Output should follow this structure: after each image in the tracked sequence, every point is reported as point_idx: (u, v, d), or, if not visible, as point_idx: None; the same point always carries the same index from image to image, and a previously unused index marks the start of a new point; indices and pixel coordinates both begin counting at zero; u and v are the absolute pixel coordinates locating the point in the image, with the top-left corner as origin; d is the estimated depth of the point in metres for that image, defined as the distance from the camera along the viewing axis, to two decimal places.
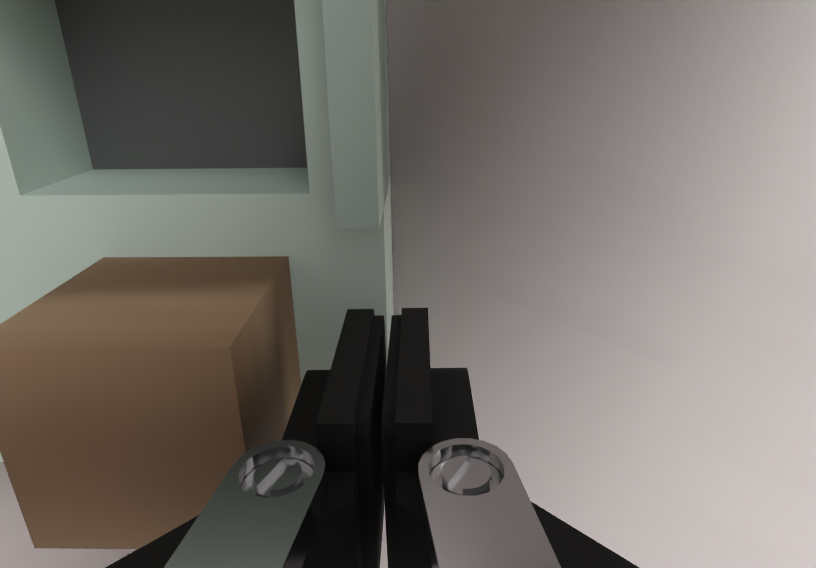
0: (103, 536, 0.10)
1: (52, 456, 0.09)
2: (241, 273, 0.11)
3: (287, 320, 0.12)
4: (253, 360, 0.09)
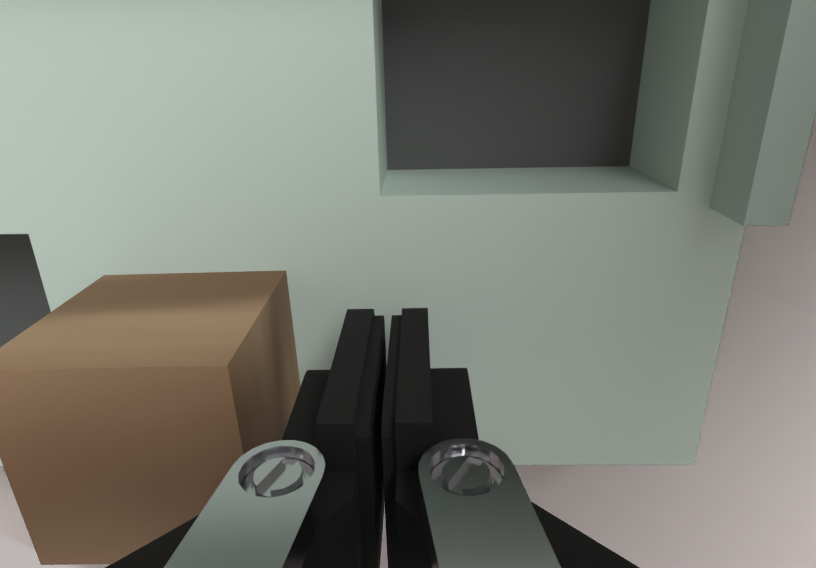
0: (107, 552, 0.10)
1: (56, 474, 0.09)
2: (239, 289, 0.11)
3: (286, 333, 0.12)
4: (252, 376, 0.10)
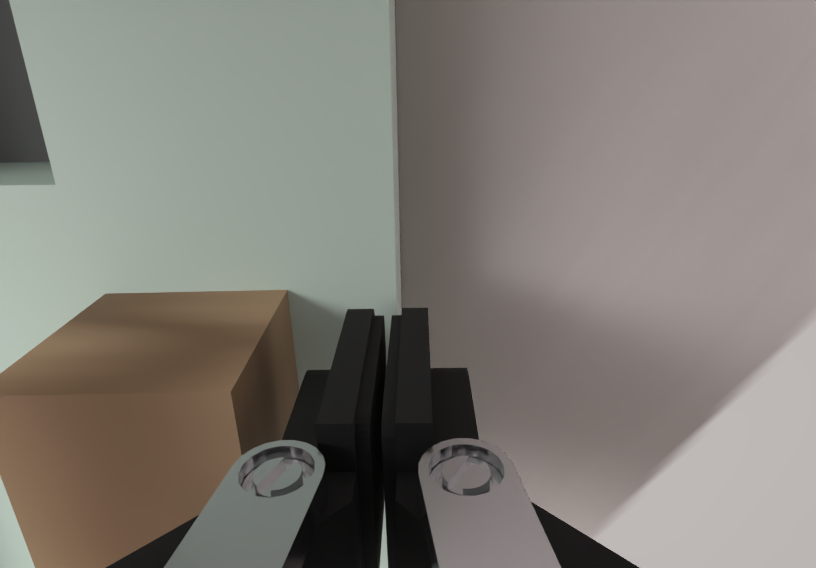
0: None
1: None
2: None
3: (147, 304, 0.12)
4: (58, 363, 0.09)
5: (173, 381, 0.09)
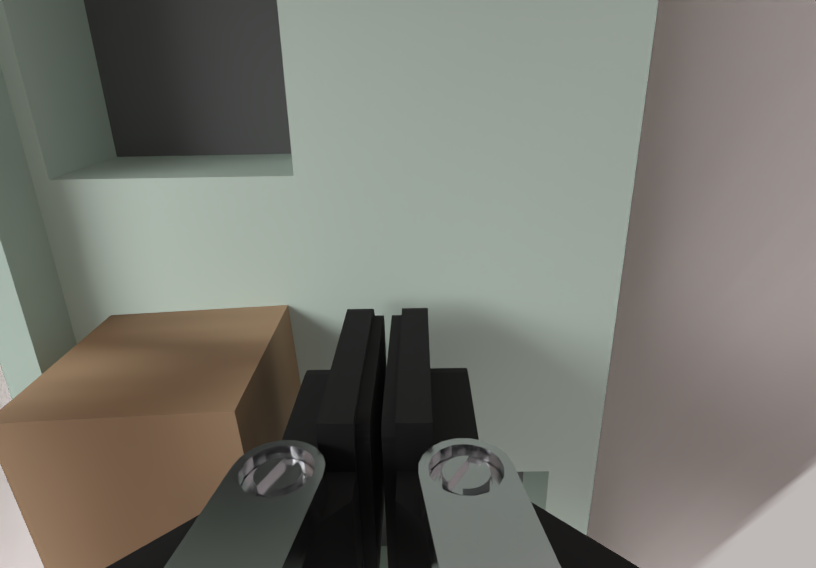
0: None
1: None
2: None
3: (151, 324, 0.12)
4: (67, 387, 0.10)
5: (178, 401, 0.09)
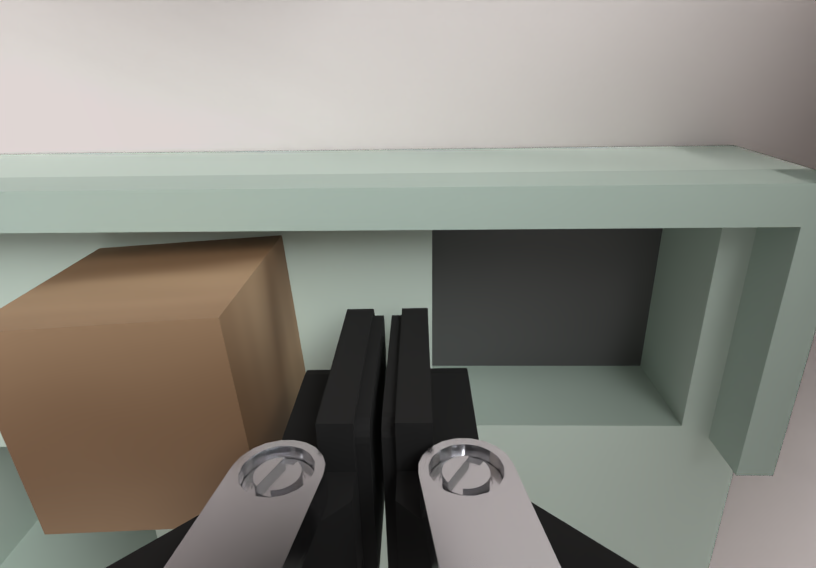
0: (110, 518, 0.10)
1: (54, 440, 0.09)
2: (234, 253, 0.11)
3: (284, 299, 0.12)
4: (247, 334, 0.09)
5: None
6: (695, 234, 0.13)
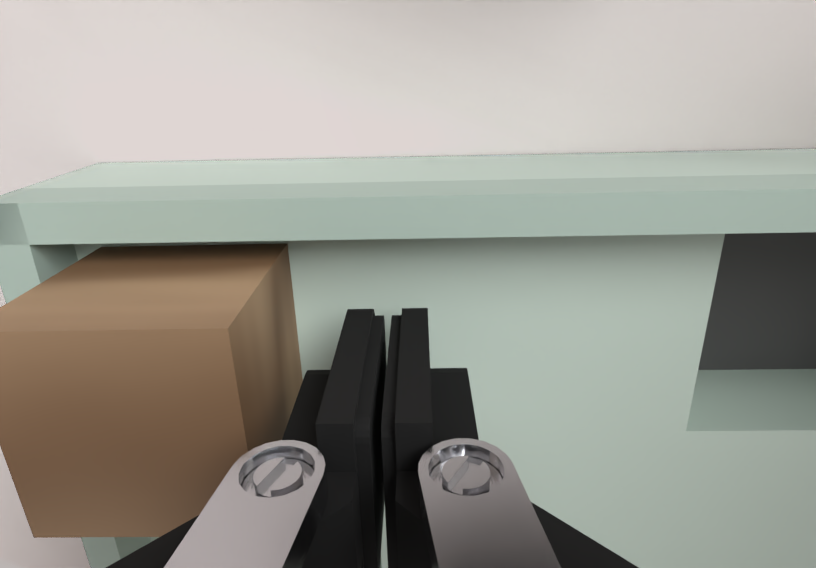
0: (102, 524, 0.10)
1: (50, 443, 0.09)
2: (240, 259, 0.11)
3: (287, 308, 0.12)
4: (253, 345, 0.09)
5: None
6: None
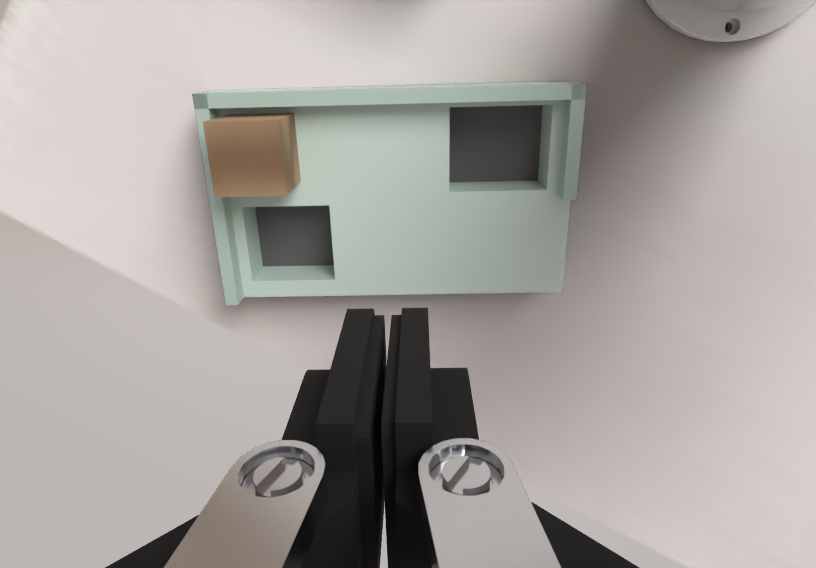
0: (236, 191, 0.31)
1: (224, 160, 0.30)
2: (278, 115, 0.32)
3: (294, 135, 0.33)
4: (284, 133, 0.30)
5: (286, 176, 0.31)
6: (548, 112, 0.34)
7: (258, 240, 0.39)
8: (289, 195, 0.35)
